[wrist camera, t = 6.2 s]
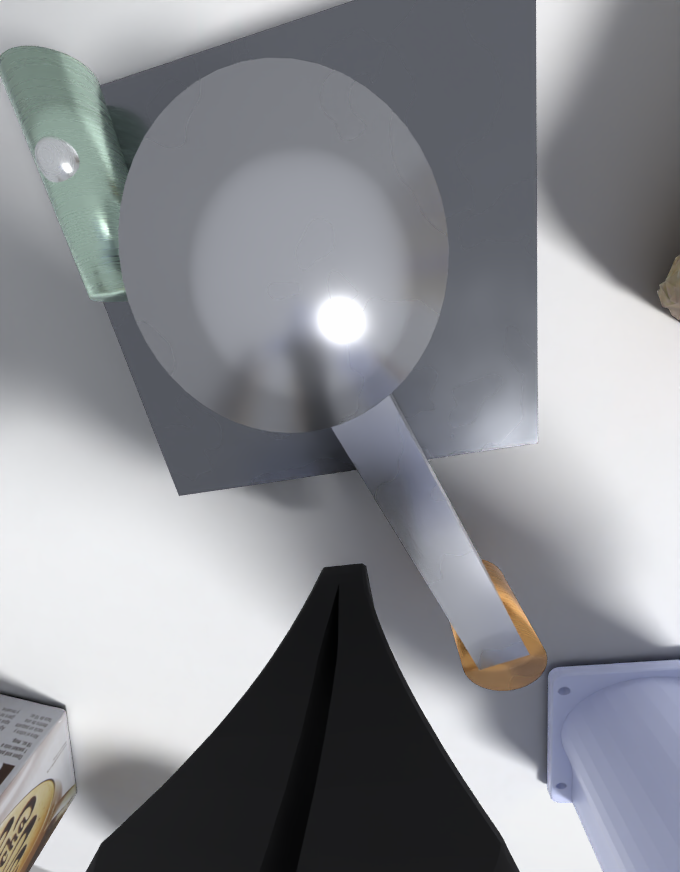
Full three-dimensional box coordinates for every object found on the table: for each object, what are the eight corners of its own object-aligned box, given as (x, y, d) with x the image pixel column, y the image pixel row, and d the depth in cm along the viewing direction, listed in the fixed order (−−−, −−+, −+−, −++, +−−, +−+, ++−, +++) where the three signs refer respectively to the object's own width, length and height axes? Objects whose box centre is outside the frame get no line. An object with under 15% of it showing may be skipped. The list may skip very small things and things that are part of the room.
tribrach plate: (516, 428, 11) (578, 470, 8) (199, 477, 13) (142, 529, 10) (504, 7, 8) (604, -218, 5) (78, 142, 9) (-75, 44, 6)
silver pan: (153, 249, 9) (50, 212, 6) (347, 93, 7) (337, -53, 4) (408, 633, 12) (421, 724, 10) (568, 576, 11) (638, 662, 8)
